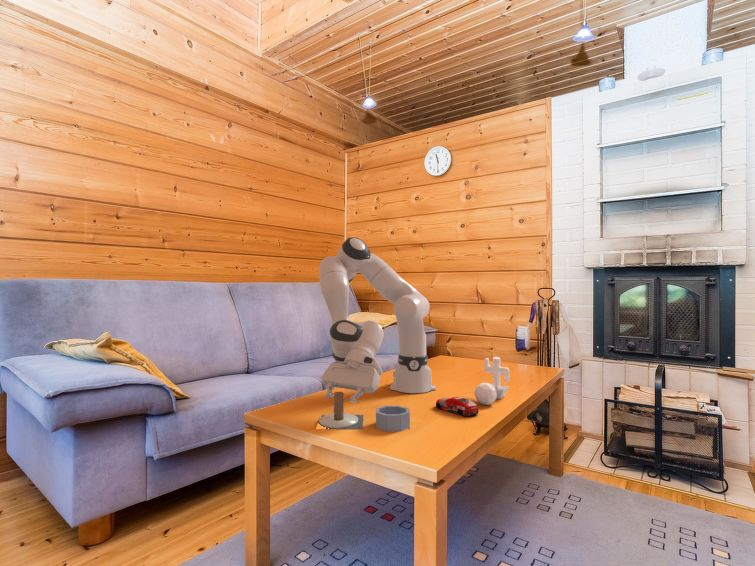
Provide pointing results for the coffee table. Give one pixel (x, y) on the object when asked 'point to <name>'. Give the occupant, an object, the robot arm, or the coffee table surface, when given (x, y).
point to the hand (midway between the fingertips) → (339, 399)
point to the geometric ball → (485, 393)
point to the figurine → (497, 375)
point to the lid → (338, 415)
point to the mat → (357, 426)
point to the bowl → (392, 418)
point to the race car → (457, 406)
